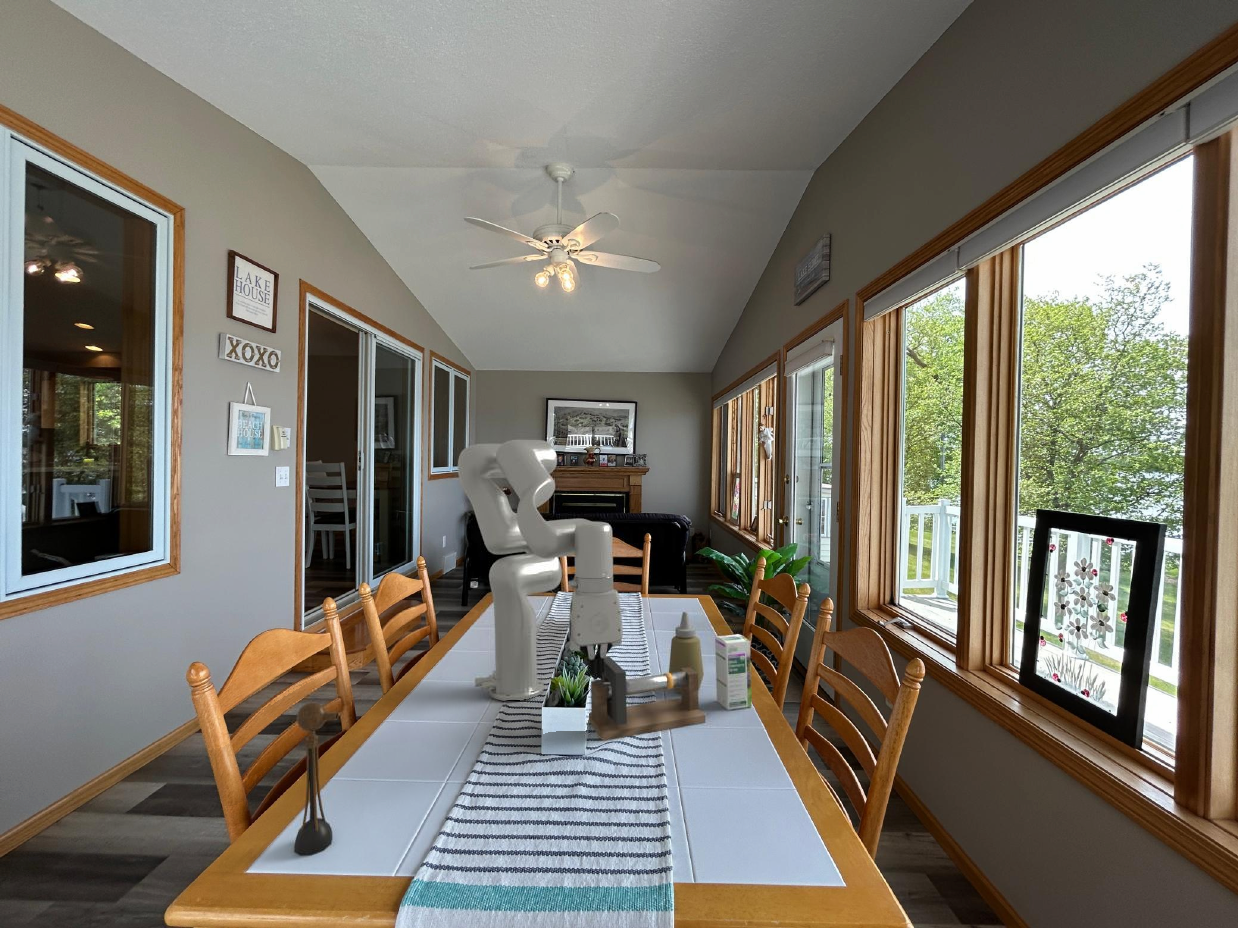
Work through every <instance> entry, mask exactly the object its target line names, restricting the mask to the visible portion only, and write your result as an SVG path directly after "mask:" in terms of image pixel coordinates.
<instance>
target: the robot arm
mask: <svg viewBox="0 0 1238 928" xmlns="http://www.w3.org/2000/svg"><path fill="white" fill-rule="evenodd" d="M556 452H557V451H556V450H555V448H554V446H552V444H551V443H550V442H548V441H546V440H543V439H512V440H508V441H504V442H503V443H476V444H471V445H469V446H467V447H465V448H464V449H463V450H461V452H460V454H459V457H458V461H457V471H458V473H457V475H458V477H459V478H458V479H459V481H460V484H461V487H462V490H463V491H464V493H465V495H466V497H467V498H468V500H469V501H470V504H471V506H472V508H473V511H474V515H475V518H476V521H477V524H478V528H479V530H480V534H481V536H482V540H483V542H484V546H485V547H486V549H487V551H488V552H490V553H491V554H493V555H508V554H514V553H515V555H508V556H504V557H501V558H499V559H497V560H496V561H495V562H494V563H493V564H492V566H491V567H490V569H489V574H488V578H489V585H490V589H491V594H492V601H493V614H494V615H493V616H494V648H495V649H494V653H495V661H494V662H495V669H494V670H492V674H489V675H488V676H485V677H483V676H482V677H475V678H474V685H475V687H474V688H478V687H481V690H482V689H483V690H484V689H488V694H489V696H490V697H491V698H493V699H494V700H498V701H503V702H507V701H506V700H520V701H525V700H524V699H526V700H530V699H533V698H535V697H538V696H539V695H541V694H542V693H543V692H544V689H545V685H544V683H543V681H541V679H538V662H537V661H538V660H537V658H538V657H537V655H538V654H537V650H538V649H537V619H536V618H537V616H536V612H535V609H534V606H532V604H531V603H530V601H529V600H528V597H527V596H530V595H535V594H539V593H544V592H549V591H552V590H554V589H556V588H557V587H558V586H559V585H560V583H561V581H562V575H563V573H562V572H563V571H562V566H561V562H560V559H559V558H563V557H568V556H569V557H570V556H574V568H575V569H574V571H575V572H574V577H573V579H572V580H568V582H567V583H568V585H567V586H568V588H569V589H570V588H571V589H574V591H573V592H572V595H571V600H570V605H569V606H570V607H569V616H568V617H569V618H568V635H569V642H568V649H569V650H571V651H575V652H582V654H583V655H585V656H586V657H587V673H588V674H589V675H590V676H591V678H592V679H593V681H596V680H599V679H600V680H601V679H602V673H603V672H604V658H605V657H607V655H608V653H609V652H610V651H611V649H612V648H615V647H617V646H621V645H622V643H623V640H622V639H623V633H624V631H623V629H624V628H623V617H622V608H621V601H620V597H619V592H618V590H617V589H614V565H613V564H614V555H613V550H614V548H613V528H612V526H611V524H609V523H608V522H603V521H591V520H590V519H589V520H588V519H585V518H568V519H567V518H565V519H556V520H555V519H554V520H548V521H547V520H546V519H544V518H543V515H542V514H540V511H539V510H538V509H537V508H539V507H541V506H542V505H543V504H545V503H546V502H547V501H548V500H550V498H551V497H552V496H553V494H554V493H555V489H556V482H555V480H554V478H553V477H552V476H551V473H553V472H554V470H555V469H556V468H557V464H558V455H557V453H556ZM497 478H498V479H499V478H503V479H504V478H506V480H507V481H508V483H509V484H510V486H511V487H512V489H513V490H514V492H515V494H516V495H517V496H518V498H519V503H518V506H517V510H516V512H514V511H513V510H512V507H511V505H510V502H509V498H508V497H507V495H506V493H505V492H504V491H503V490H502V489H501V488H500V487H499V486H498V485H497V484H496V483H495V482H494V481H492V480H491V479H497ZM523 552H525V553H523ZM516 553H522V554H516ZM596 645H597V646H596ZM594 646H596V652H595V649H594ZM532 697H533V698H532ZM529 698H530V699H529Z"/></svg>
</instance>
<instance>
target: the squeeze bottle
mask: <svg viewBox="0 0 1238 928" xmlns="http://www.w3.org/2000/svg"><path fill="white" fill-rule="evenodd" d="M674 631H675V634H674V635H675V636H673V637H672V638H671V643H670V653H669V655H670V657H669V665H668V667H669V668H668V673H674V672H681V668H687V667H690V668H691V669H693V670H694V671H696V672H697V673H698V692H699V691H700V688H701V684H702V681H703V678H704V676H705V675H704V666H703V657H702V656H703V655H702V649H701V648H702V647H701V639H700V638H699V637H698V636H697V635H696V627H695V626H692V625H691V622H690V617H689V613H688V611H683V612H682V614H681V619H680V625H679V626H678V625H677V626H676V627H675V630H674ZM673 690H674V691H675V692H676V693H678V694H681V687H678V688H673Z"/></svg>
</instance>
